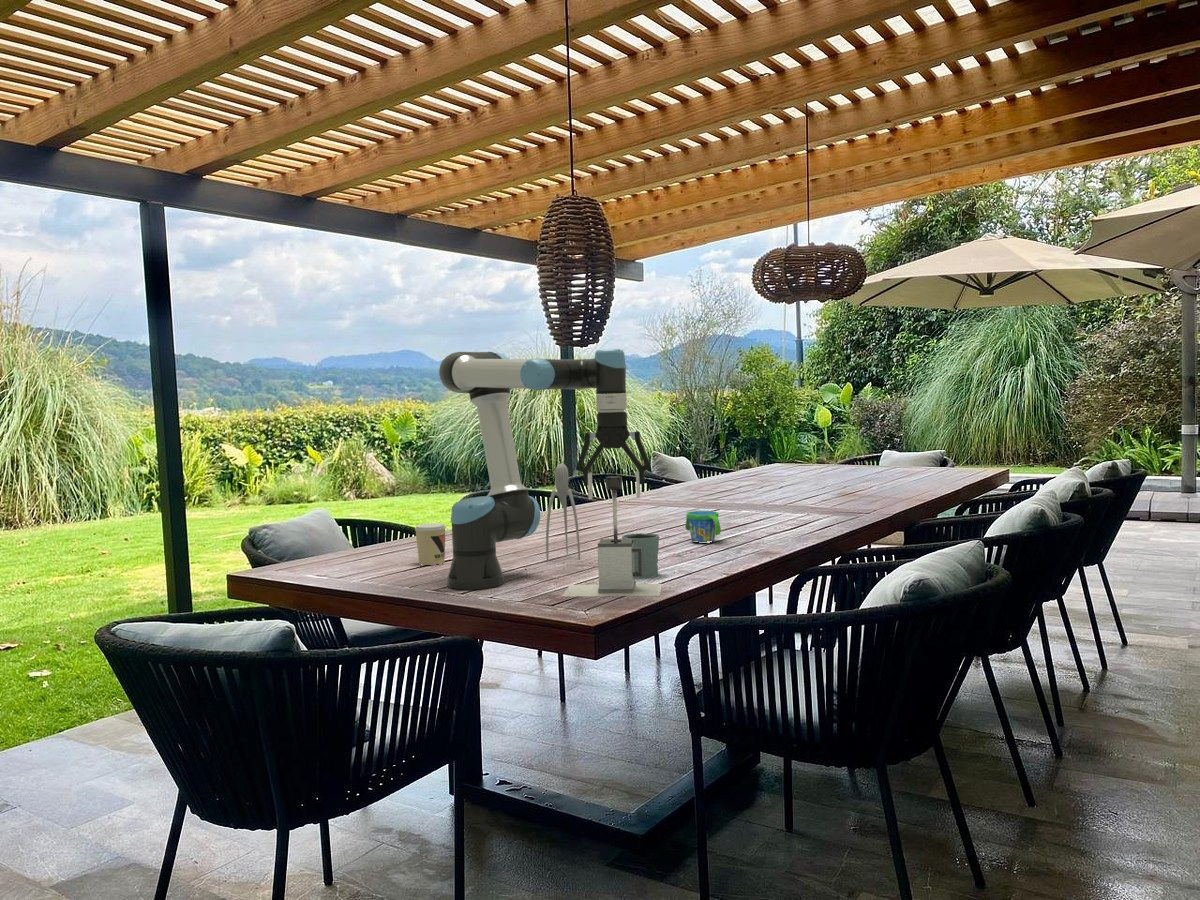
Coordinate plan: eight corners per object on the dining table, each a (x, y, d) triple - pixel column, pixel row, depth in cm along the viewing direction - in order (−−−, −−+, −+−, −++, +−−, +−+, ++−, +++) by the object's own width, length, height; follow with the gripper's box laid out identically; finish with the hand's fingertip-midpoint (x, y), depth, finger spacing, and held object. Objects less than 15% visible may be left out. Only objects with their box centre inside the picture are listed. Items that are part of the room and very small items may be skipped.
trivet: (562, 601, 225) (562, 596, 225) (570, 589, 239) (569, 584, 239) (659, 600, 223) (659, 595, 223) (662, 588, 237) (661, 583, 237)
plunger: (603, 551, 228) (600, 478, 227) (605, 547, 234) (603, 476, 233) (627, 551, 228) (624, 477, 227) (628, 547, 233) (626, 475, 232)
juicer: (583, 555, 290) (580, 461, 289) (580, 560, 281) (576, 463, 280) (551, 556, 291) (547, 462, 290) (546, 561, 282) (543, 464, 281)
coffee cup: (437, 566, 279) (436, 527, 278) (410, 565, 282) (409, 527, 281) (452, 561, 288) (451, 523, 287) (426, 560, 291) (424, 522, 290)
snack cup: (729, 543, 304) (729, 513, 304) (703, 547, 299) (702, 516, 299) (702, 538, 318) (702, 509, 317) (677, 541, 313) (676, 511, 312)
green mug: (629, 584, 244) (628, 539, 243) (618, 577, 253) (617, 534, 253) (665, 580, 246) (664, 536, 246) (653, 574, 256) (651, 531, 255)
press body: (598, 593, 227) (596, 544, 227) (601, 586, 236) (600, 538, 236) (641, 592, 226) (640, 543, 226) (643, 585, 235) (642, 538, 234)
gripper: (562, 413, 226) (565, 500, 228) (658, 410, 224) (661, 498, 225) (566, 412, 234) (569, 497, 235) (660, 409, 231) (662, 495, 233)
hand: (614, 498), depth 230 cm, fingers open, 11 cm apart
